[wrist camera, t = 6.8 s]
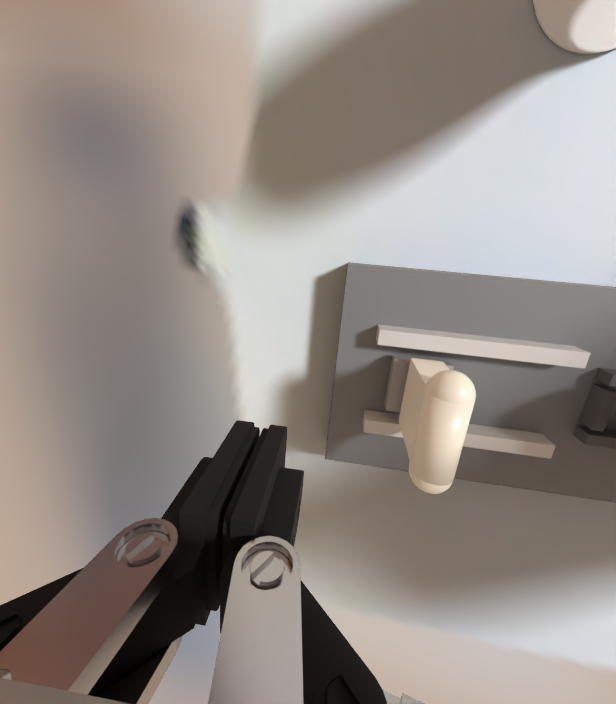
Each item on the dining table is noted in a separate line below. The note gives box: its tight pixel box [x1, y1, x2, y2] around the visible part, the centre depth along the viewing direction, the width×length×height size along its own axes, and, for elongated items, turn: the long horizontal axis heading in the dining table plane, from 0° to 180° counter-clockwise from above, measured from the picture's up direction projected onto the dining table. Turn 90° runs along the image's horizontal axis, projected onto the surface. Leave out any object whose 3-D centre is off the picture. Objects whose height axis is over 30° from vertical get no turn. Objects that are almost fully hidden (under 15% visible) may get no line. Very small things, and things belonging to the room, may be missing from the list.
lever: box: [384, 355, 476, 494], centre depth 15 cm, size 3×5×6 cm, turn 175°
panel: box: [325, 263, 616, 502], centre depth 18 cm, size 27×12×3 cm, turn 85°
